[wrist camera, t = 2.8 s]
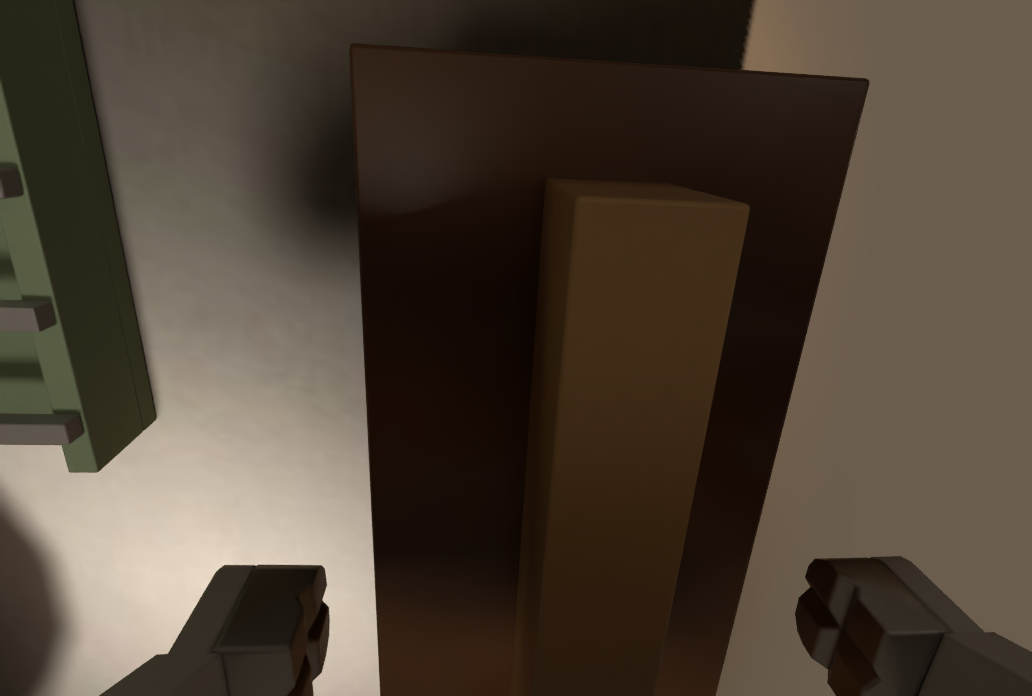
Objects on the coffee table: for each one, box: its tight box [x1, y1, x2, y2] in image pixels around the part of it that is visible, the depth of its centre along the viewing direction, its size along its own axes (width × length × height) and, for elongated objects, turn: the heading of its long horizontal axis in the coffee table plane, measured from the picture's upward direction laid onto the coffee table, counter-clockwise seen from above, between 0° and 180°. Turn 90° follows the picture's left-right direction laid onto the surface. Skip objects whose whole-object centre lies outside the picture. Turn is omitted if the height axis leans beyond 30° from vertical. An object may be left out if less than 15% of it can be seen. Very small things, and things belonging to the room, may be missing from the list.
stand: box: [349, 44, 869, 696], centre depth 17 cm, size 18×7×14 cm, turn 177°
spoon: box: [511, 178, 750, 696], centre depth 9 cm, size 14×4×2 cm, turn 177°
